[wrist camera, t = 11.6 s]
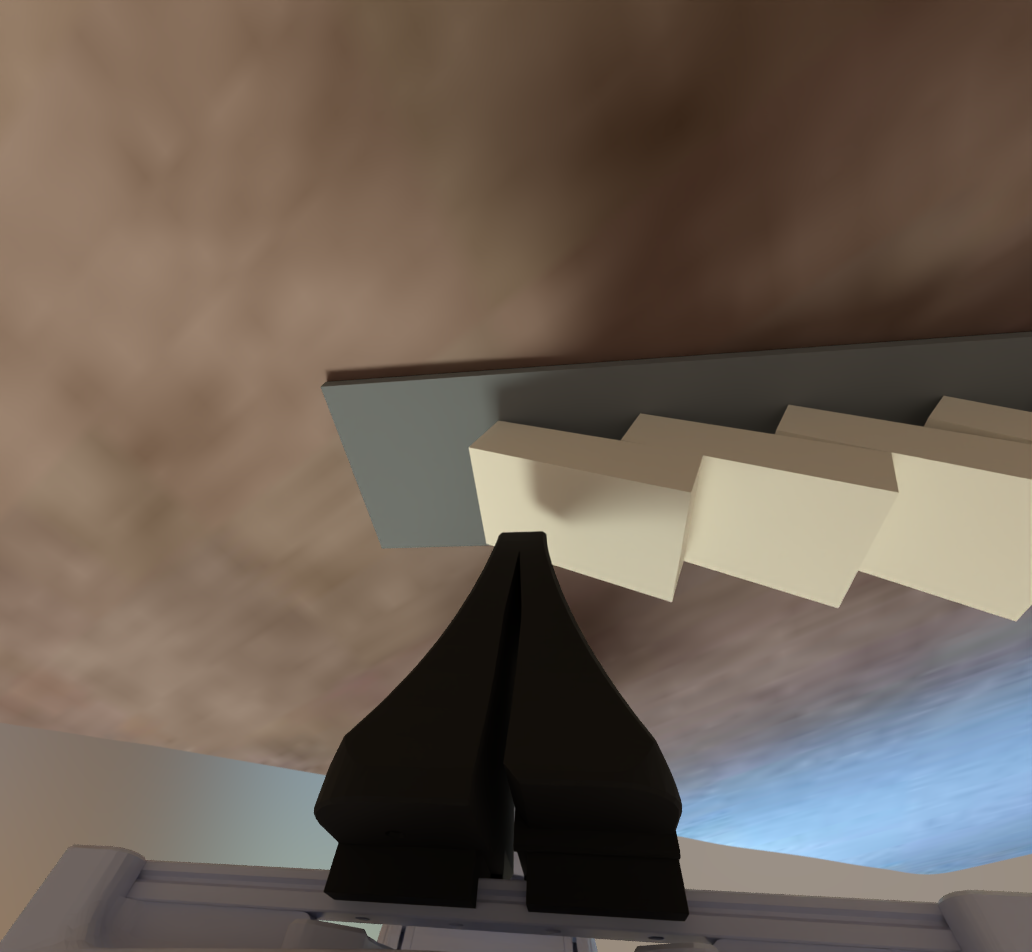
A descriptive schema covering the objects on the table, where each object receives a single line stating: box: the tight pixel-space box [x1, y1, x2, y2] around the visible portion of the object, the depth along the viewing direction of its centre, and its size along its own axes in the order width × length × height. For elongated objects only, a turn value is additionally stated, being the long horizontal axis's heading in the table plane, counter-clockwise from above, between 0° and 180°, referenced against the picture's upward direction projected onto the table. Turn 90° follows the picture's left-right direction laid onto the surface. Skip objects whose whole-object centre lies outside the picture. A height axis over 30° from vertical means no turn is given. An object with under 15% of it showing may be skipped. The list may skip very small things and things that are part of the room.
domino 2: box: [621, 413, 899, 608], centre depth 14 cm, size 4×2×7 cm
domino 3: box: [775, 405, 1032, 621], centre depth 13 cm, size 4×2×7 cm
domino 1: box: [469, 421, 703, 602], centre depth 14 cm, size 4×2×7 cm
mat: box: [321, 332, 1032, 548], centre depth 16 cm, size 8×30×1 cm, turn 95°
